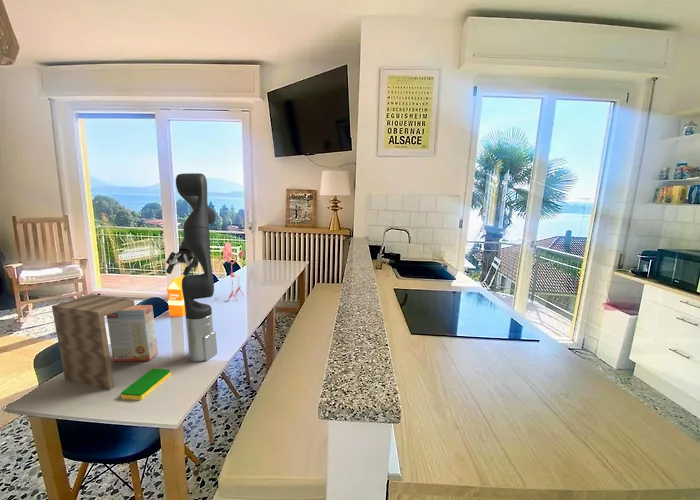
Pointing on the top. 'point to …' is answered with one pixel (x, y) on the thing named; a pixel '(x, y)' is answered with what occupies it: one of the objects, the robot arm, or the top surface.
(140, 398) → the dish sponge
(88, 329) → the walnut shelf
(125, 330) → the cracker box
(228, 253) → the figurine
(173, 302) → the orange juice
